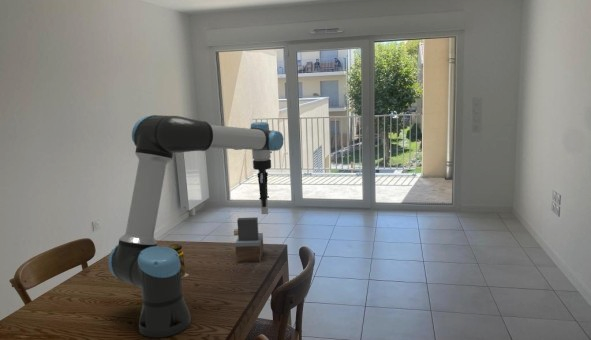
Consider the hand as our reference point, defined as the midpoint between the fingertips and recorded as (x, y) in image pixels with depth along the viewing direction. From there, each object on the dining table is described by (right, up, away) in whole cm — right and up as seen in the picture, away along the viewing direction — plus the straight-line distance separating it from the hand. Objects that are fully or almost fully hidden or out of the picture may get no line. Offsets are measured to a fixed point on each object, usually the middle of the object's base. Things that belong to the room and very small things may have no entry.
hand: (264, 213), depth 187 cm
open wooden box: (-6, -18, -1) cm, 19 cm away
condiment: (-34, -23, -18) cm, 44 cm away
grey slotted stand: (-6, -12, -2) cm, 14 cm away
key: (-9, -9, +2) cm, 13 cm away
